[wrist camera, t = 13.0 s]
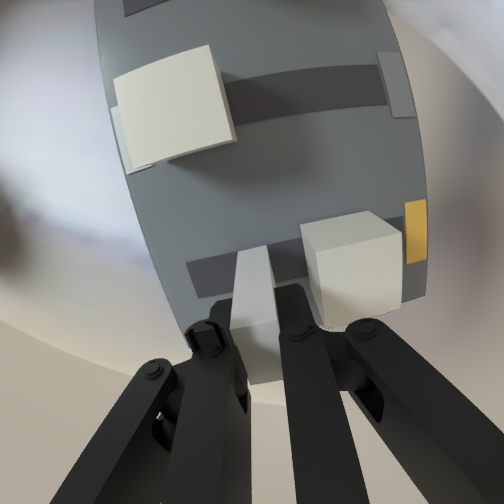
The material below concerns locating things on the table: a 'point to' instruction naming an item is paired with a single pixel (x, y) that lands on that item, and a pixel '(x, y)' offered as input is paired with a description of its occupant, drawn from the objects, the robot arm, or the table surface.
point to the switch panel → (272, 138)
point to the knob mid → (174, 107)
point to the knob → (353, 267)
